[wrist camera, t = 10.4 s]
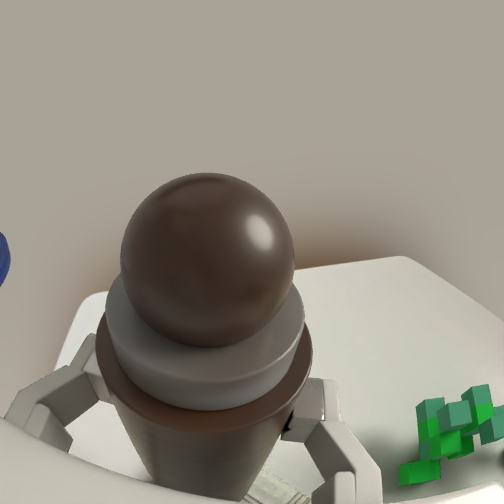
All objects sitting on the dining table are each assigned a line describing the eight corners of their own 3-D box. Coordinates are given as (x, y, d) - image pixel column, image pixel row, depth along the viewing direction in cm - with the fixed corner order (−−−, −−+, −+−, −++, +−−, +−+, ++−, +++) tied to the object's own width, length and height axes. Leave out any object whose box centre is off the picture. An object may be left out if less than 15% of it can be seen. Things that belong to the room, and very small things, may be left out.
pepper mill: (154, 513, 11) (-7, 266, 3) (152, 427, 16) (104, 140, 7) (260, 510, 13) (431, 273, 4) (245, 426, 17) (310, 150, 8)
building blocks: (399, 540, 18) (459, 510, 12) (362, 452, 29) (392, 388, 22) (526, 457, 20) (586, 394, 14) (484, 394, 31) (525, 324, 25)
